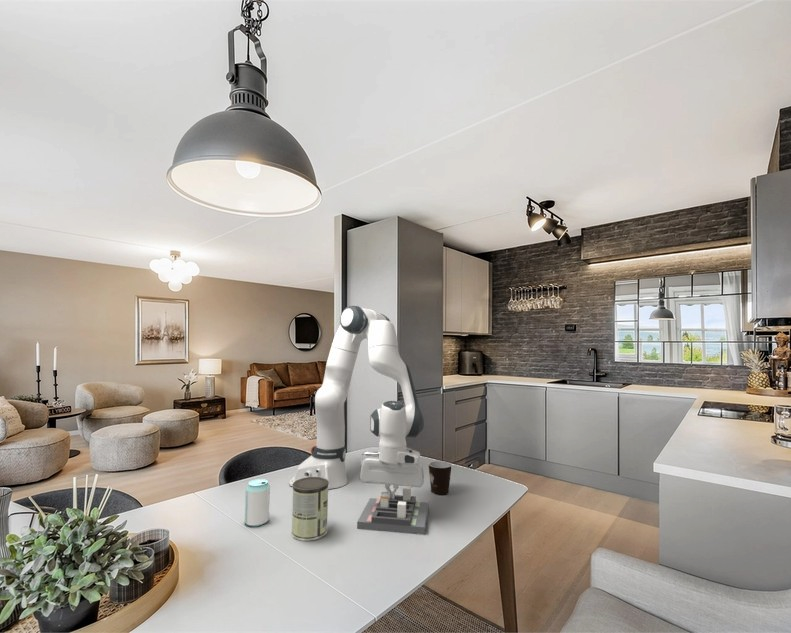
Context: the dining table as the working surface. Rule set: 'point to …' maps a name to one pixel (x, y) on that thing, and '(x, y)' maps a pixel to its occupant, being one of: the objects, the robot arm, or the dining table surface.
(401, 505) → the breaker near
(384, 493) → the block
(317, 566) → the dining table surface
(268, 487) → the can
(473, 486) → the dining table surface
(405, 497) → the block
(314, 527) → the coffee can
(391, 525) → the panel
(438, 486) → the coffee mug
